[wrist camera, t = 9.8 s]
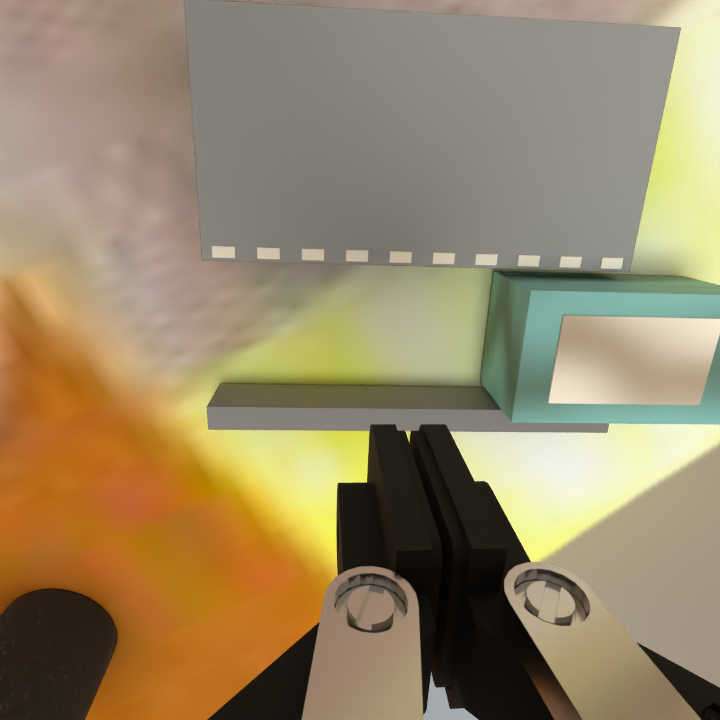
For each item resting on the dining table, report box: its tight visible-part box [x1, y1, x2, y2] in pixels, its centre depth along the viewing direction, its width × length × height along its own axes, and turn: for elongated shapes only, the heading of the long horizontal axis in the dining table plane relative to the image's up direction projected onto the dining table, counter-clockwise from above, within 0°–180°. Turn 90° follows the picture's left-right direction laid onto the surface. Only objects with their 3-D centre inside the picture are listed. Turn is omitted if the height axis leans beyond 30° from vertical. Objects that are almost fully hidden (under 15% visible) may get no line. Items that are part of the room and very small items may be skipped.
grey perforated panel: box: [184, 0, 681, 433], centre depth 23 cm, size 18×20×3 cm
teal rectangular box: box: [480, 271, 720, 424], centre depth 24 cm, size 6×10×5 cm, turn 88°
